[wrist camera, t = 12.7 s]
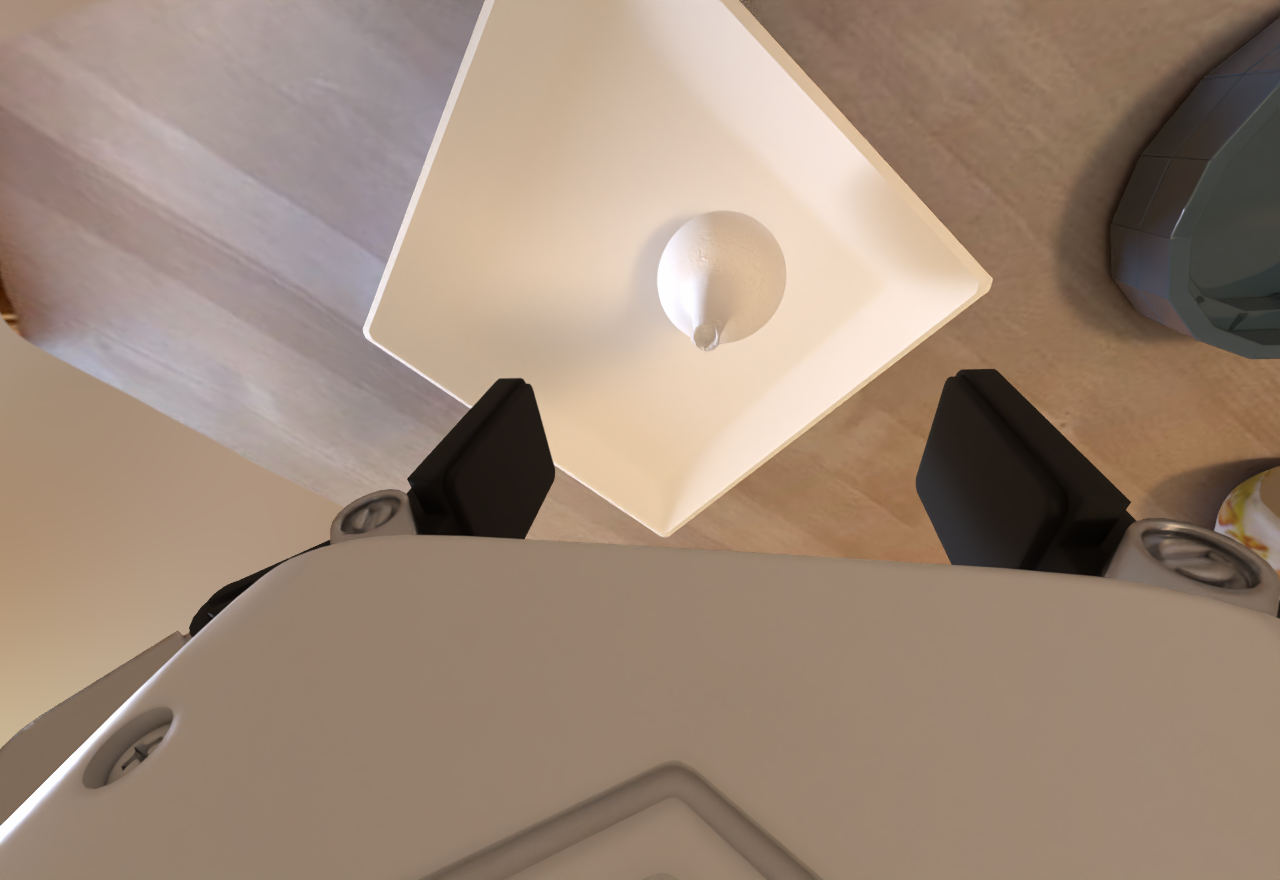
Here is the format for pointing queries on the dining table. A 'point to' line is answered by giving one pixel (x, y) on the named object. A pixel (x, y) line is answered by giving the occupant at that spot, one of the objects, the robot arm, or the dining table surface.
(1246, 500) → the mug
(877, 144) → the dining table surface
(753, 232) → the garlic bulb
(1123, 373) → the dining table surface
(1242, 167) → the bowl
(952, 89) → the dining table surface
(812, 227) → the plate
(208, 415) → the dining table surface
